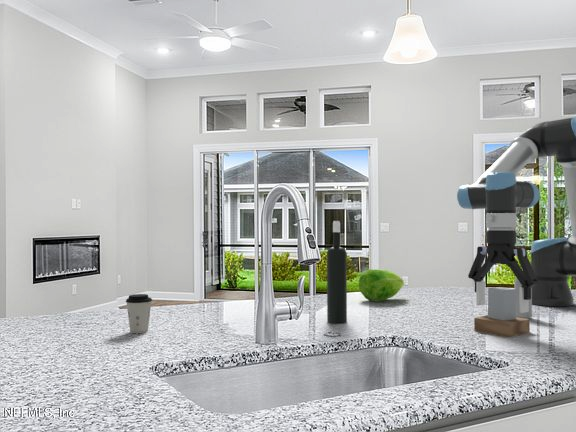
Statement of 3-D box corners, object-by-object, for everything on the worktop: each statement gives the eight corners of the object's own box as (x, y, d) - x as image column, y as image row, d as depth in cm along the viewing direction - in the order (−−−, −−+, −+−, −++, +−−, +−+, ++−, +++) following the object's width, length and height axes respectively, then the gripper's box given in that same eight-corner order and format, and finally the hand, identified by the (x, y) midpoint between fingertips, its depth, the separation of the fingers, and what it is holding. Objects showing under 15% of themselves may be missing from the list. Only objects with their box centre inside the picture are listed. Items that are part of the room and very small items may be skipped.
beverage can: (533, 319, 155) (533, 279, 155) (516, 319, 156) (516, 279, 156) (529, 316, 159) (529, 277, 159) (513, 316, 160) (512, 277, 160)
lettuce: (416, 300, 193) (416, 268, 193) (376, 305, 182) (376, 271, 182) (390, 295, 204) (390, 265, 204) (351, 300, 194) (351, 268, 194)
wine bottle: (350, 321, 153) (350, 220, 153) (338, 324, 149) (338, 220, 149) (335, 319, 157) (334, 220, 157) (323, 321, 153) (322, 220, 153)
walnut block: (495, 327, 146) (495, 313, 146) (529, 334, 137) (529, 319, 137) (474, 332, 140) (474, 317, 140) (508, 339, 132) (508, 323, 132)
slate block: (499, 316, 142) (500, 287, 142) (516, 319, 138) (516, 289, 138) (487, 317, 139) (488, 288, 140) (503, 320, 135) (504, 290, 135)
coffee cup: (157, 330, 142) (157, 294, 142) (142, 335, 136) (142, 297, 136) (136, 328, 145) (135, 293, 145) (120, 333, 138) (120, 296, 138)
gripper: (455, 229, 148) (455, 303, 147) (534, 230, 126) (535, 317, 126) (472, 228, 151) (473, 301, 151) (553, 229, 130) (553, 314, 130)
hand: (501, 308), depth 139 cm, fingers open, 13 cm apart
